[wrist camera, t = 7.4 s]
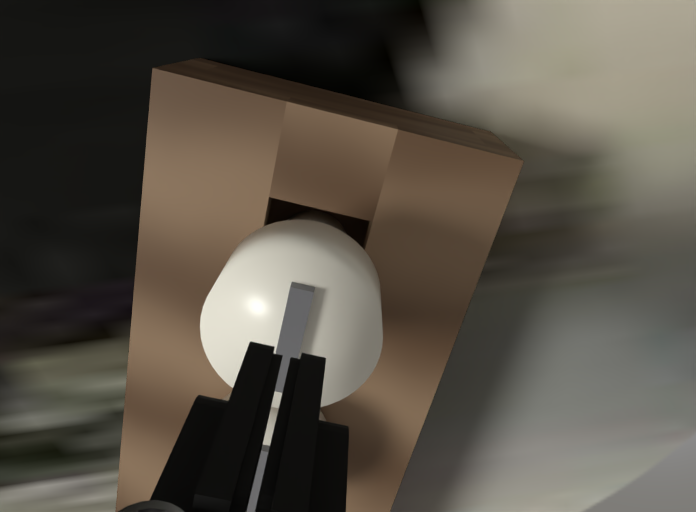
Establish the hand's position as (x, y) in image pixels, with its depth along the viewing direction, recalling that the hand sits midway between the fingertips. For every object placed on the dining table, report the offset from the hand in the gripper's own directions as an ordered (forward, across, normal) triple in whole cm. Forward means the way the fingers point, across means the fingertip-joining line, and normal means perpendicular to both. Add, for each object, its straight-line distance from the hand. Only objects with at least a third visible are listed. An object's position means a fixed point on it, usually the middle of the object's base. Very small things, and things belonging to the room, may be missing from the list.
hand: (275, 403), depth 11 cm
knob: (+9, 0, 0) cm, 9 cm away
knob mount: (+13, 0, +8) cm, 15 cm away
